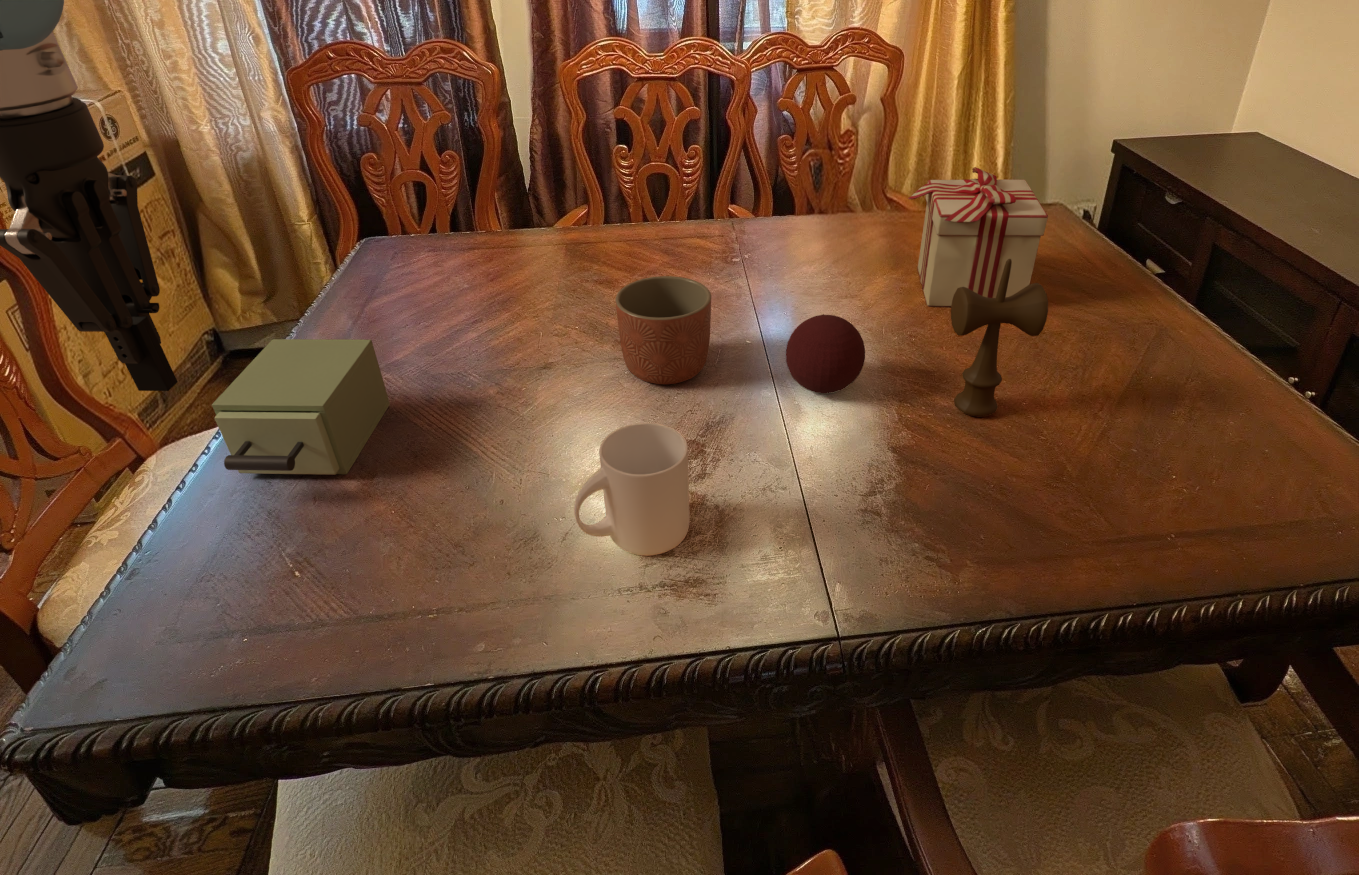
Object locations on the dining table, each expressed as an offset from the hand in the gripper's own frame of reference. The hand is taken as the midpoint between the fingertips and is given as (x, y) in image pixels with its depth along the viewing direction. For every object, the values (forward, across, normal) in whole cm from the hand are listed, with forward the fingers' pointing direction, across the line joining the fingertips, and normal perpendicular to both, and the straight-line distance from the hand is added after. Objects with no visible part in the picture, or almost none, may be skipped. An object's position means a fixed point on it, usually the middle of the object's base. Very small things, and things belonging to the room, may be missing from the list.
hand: (158, 386), depth 70 cm
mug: (+21, +4, -40) cm, 46 cm away
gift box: (+21, +61, -87) cm, 108 cm away
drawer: (+20, +16, 0) cm, 25 cm away
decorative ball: (+21, +32, -62) cm, 73 cm away
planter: (+21, +37, -42) cm, 59 cm away
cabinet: (+20, +20, 0) cm, 29 cm away
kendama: (+21, +28, -81) cm, 88 cm away
